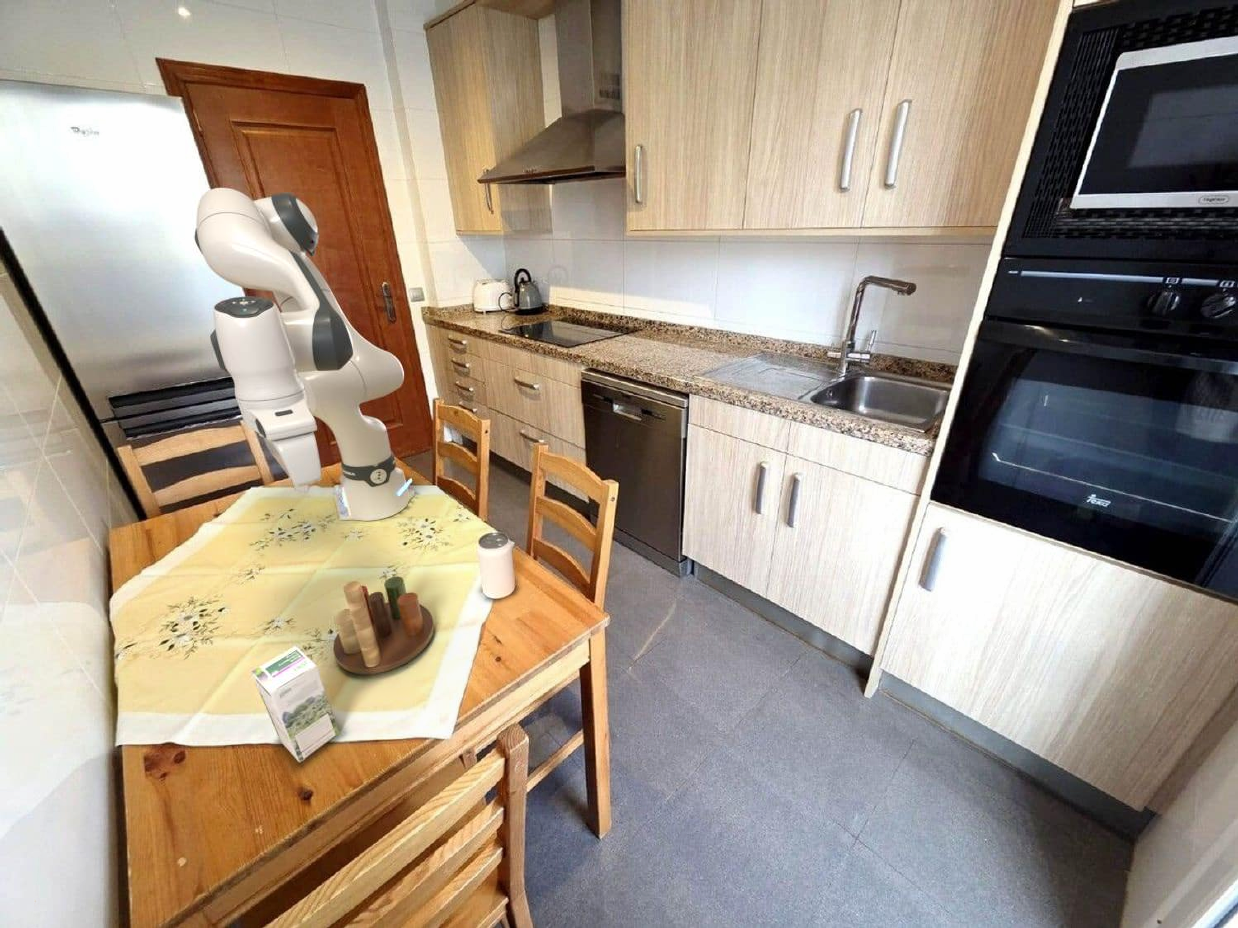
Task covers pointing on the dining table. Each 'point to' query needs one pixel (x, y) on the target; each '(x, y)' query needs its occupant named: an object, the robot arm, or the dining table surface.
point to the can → (496, 565)
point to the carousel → (380, 628)
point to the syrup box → (296, 702)
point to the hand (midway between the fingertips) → (300, 489)
